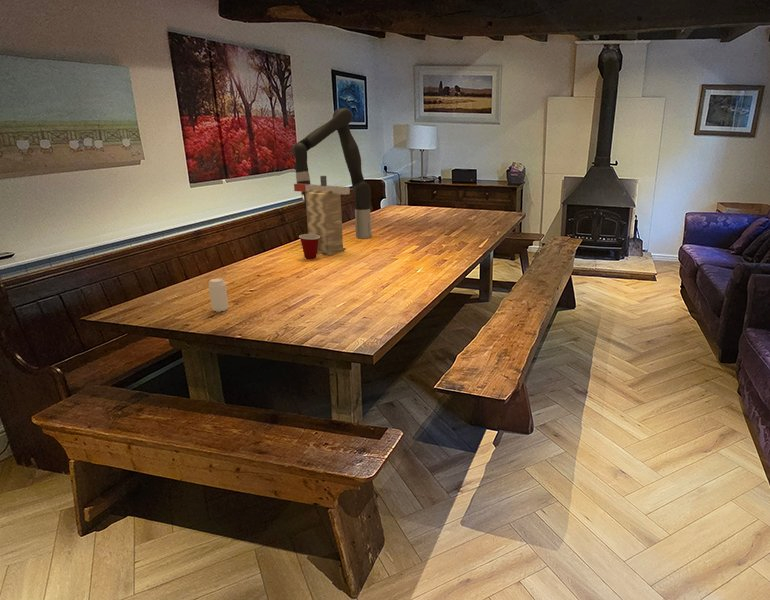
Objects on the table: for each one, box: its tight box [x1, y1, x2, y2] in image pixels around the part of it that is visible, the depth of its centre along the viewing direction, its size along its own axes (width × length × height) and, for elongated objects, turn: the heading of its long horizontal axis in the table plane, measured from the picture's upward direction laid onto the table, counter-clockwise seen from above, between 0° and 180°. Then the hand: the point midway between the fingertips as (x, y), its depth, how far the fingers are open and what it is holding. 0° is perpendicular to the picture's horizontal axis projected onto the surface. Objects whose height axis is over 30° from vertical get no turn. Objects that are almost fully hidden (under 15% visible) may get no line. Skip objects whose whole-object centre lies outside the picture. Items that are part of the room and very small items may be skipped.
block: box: [293, 175, 351, 195], centre depth 281 cm, size 36×4×9 cm, turn 54°
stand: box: [305, 190, 347, 257], centre depth 287 cm, size 16×14×33 cm
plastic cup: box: [298, 233, 320, 260], centre depth 277 cm, size 11×11×12 cm
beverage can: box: [208, 277, 229, 313], centre depth 202 cm, size 6×6×12 cm
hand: (307, 209), depth 304 cm, fingers open, 8 cm apart
